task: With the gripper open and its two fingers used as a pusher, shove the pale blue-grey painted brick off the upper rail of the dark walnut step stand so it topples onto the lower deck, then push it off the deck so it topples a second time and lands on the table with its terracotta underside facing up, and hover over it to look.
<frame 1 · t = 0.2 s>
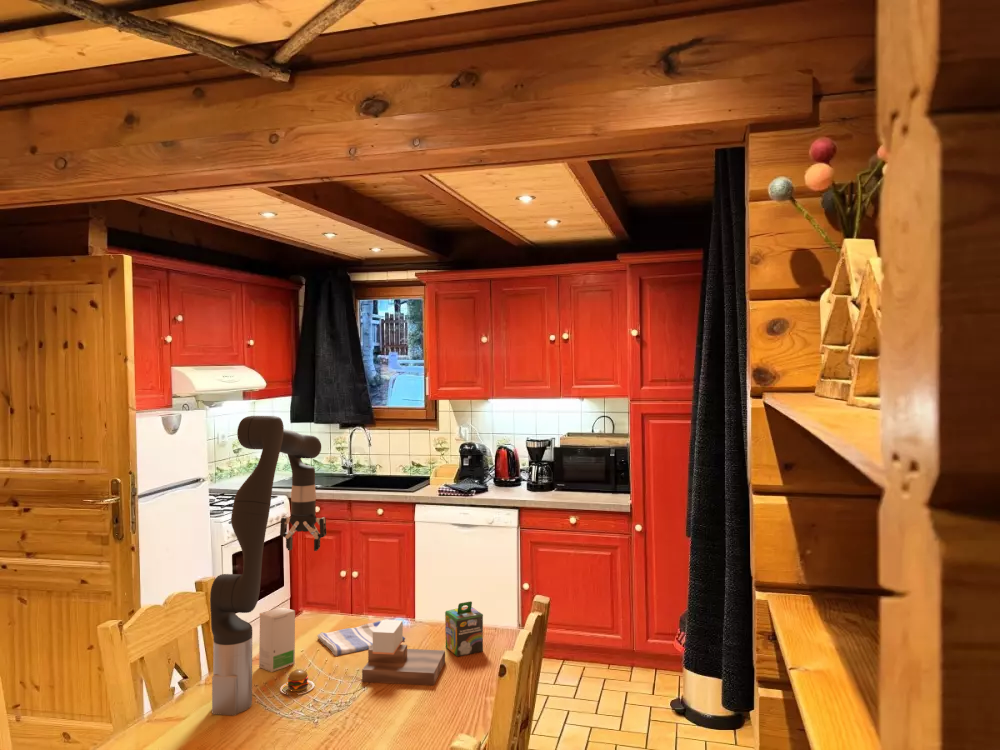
hand: (303, 550, 220), 29 cm above the table, fingers open, 8 cm apart
brick: (387, 647, 198), point 7 cm above the table, touching step stand
step stand: (405, 671, 197), on the table
skincare box: (276, 666, 201), on the table
chalk box: (464, 650, 213), on the table
dish towel: (360, 642, 221), on the table
hamburger: (297, 691, 186), on the table
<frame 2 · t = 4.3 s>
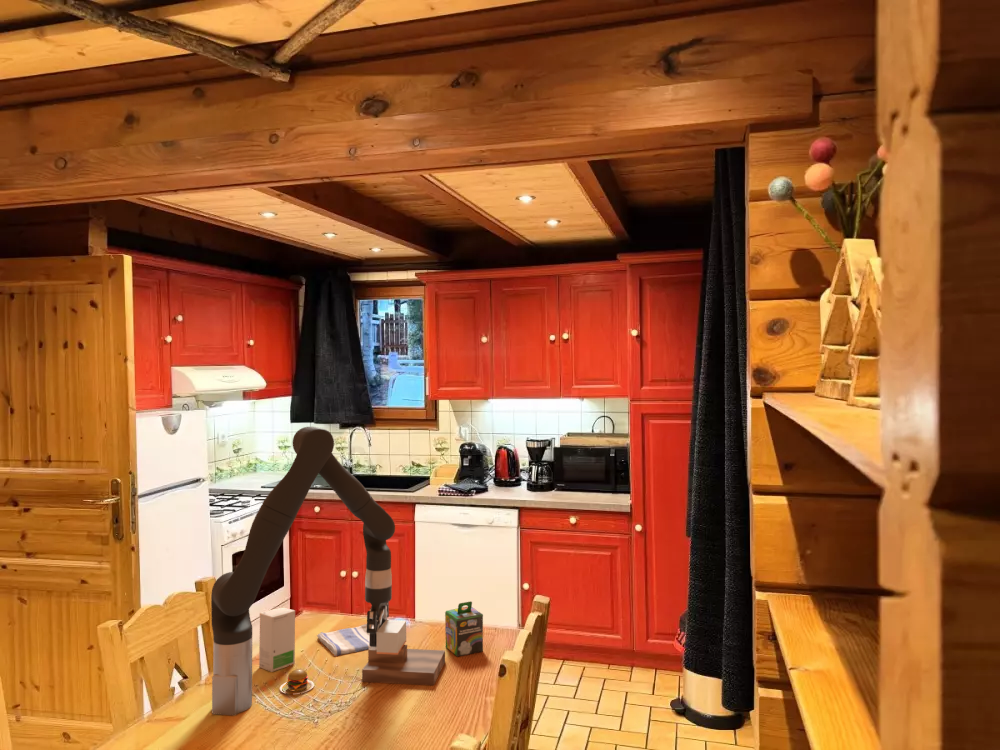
hand: (377, 640, 198), 8 cm above the table
brick: (391, 647, 198), point 7 cm above the table, touching gripper
everything else where it was.
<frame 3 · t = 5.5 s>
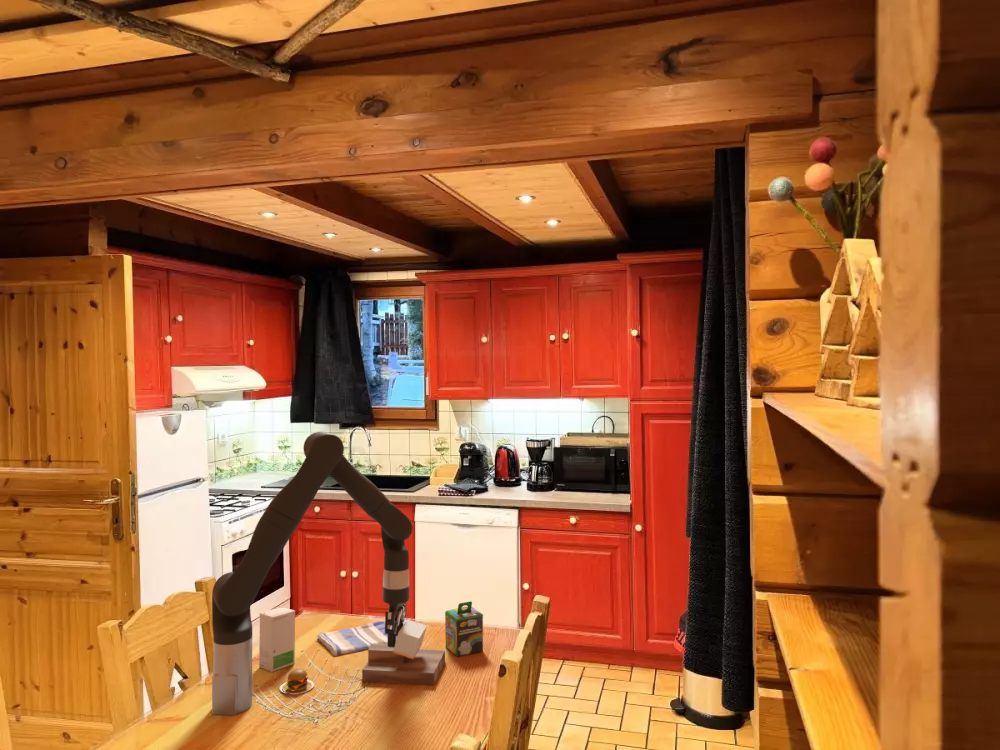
hand: (395, 641, 198), 8 cm above the table
brick: (407, 648, 197), point 6 cm above the table, tilted 16°, touching gripper, step stand
everything else where it was.
when the fingers open (8 cm above the table, at t = 6.8 s): brick moves 1 cm and tips over, resting on step stand.
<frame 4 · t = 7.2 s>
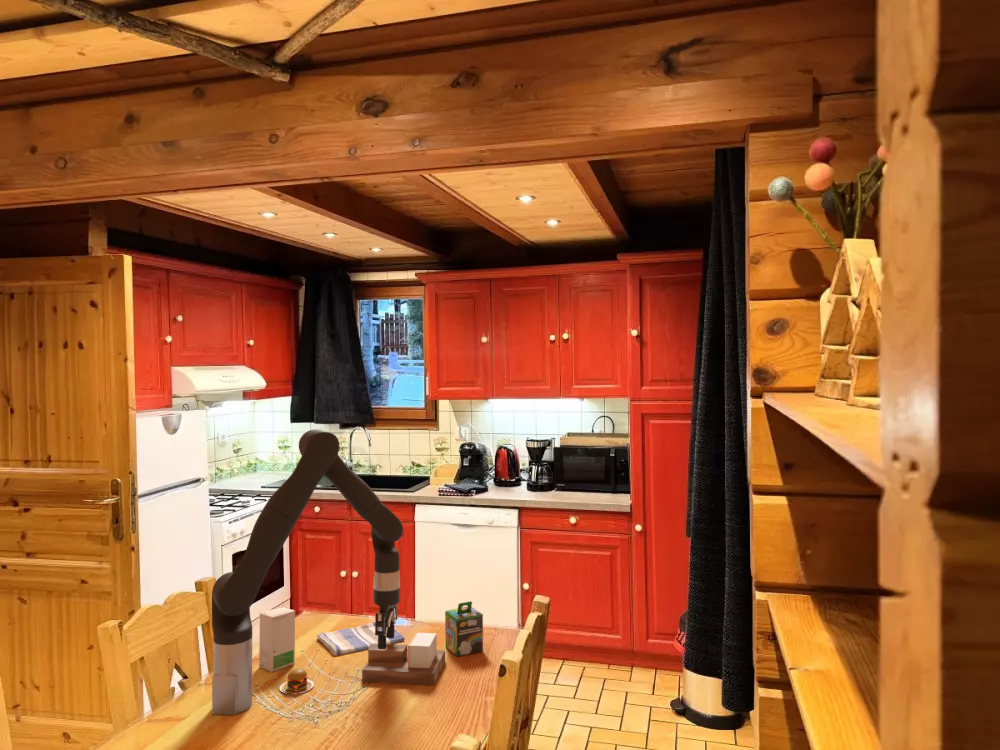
hand: (386, 643, 198), 8 cm above the table, fingers open, 8 cm apart
brick: (412, 649, 197), point 6 cm above the table, tilted 90°, touching step stand
everything else where it was.
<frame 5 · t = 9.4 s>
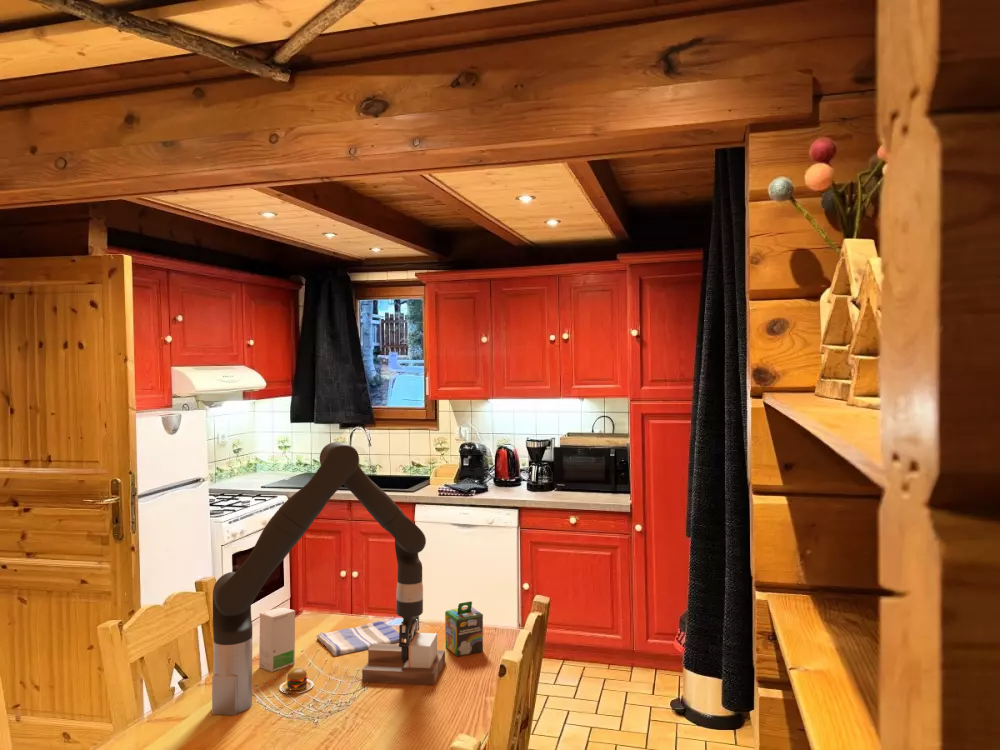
hand: (409, 654, 197), 5 cm above the table
brick: (412, 649, 197), point 6 cm above the table, tilted 90°, touching gripper
everything else where it was.
when the fingers open (5 cm above the table, at t = 10.7 s): brick stays where it is, resting on step stand.
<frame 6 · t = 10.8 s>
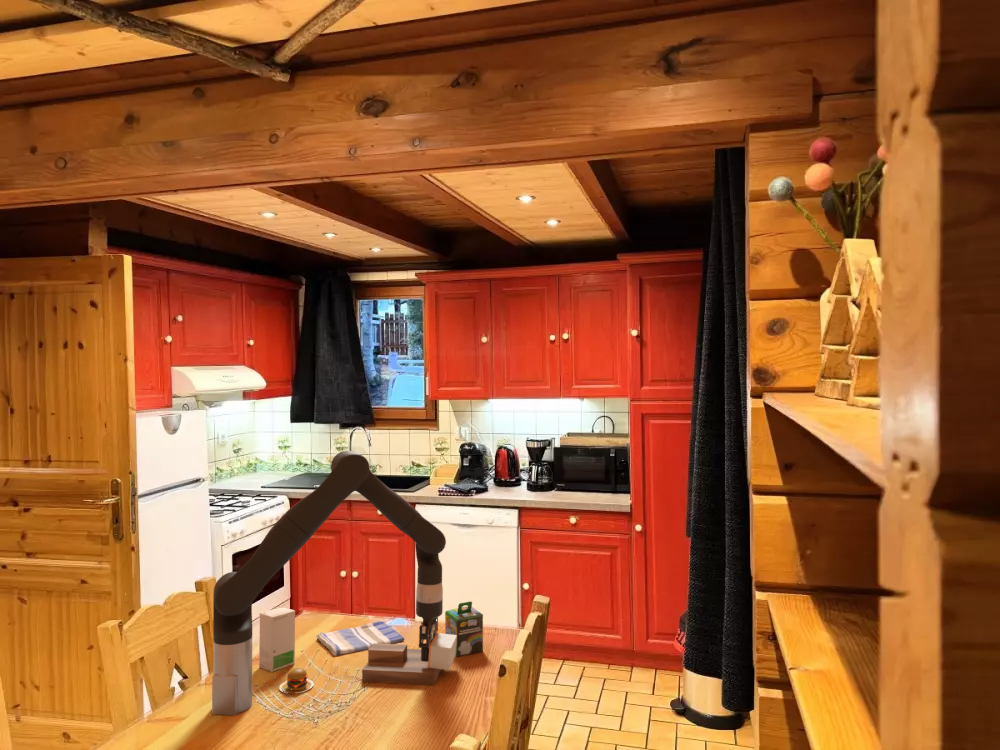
hand: (428, 655, 197), 5 cm above the table, fingers open, 8 cm apart
brick: (432, 649, 196), point 6 cm above the table, tilted 94°, touching gripper, step stand
everything else where it was.
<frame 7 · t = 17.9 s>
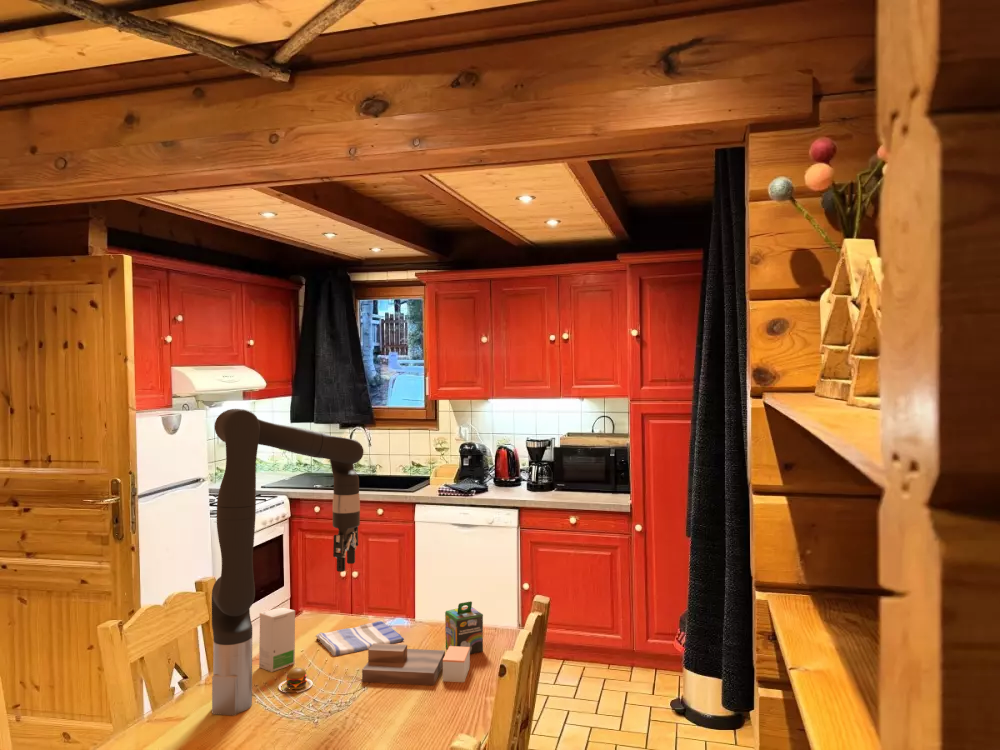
hand: (346, 567, 195), 30 cm above the table, fingers open, 8 cm apart
brick: (456, 653, 195), point 6 cm above the table, tilted 180°
at the end: brick tilted 180°; brick inside the target area (0.8 cm from its centre), point 5.8 cm above the table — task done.
